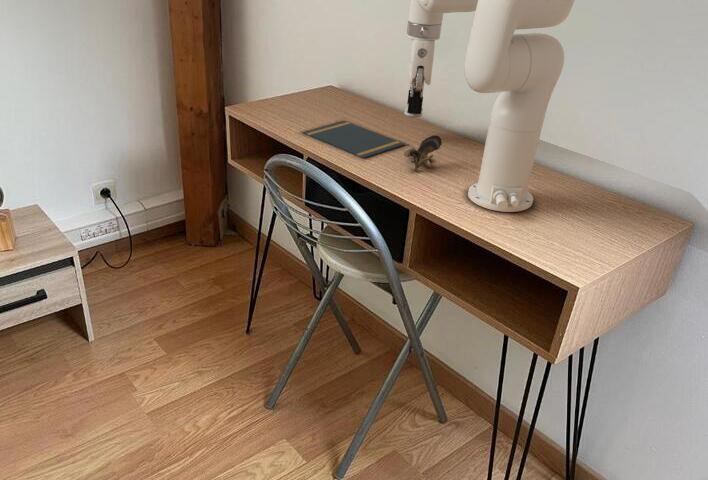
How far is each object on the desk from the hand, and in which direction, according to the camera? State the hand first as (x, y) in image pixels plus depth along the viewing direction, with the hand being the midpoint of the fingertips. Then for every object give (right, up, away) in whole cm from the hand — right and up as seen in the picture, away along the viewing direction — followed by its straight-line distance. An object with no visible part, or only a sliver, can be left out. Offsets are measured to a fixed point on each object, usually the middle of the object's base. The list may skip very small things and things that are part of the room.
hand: (413, 109), depth 154 cm
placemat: (-15, -7, +2) cm, 16 cm away
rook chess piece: (0, -1, +1) cm, 2 cm away
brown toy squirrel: (0, -16, -11) cm, 20 cm away
